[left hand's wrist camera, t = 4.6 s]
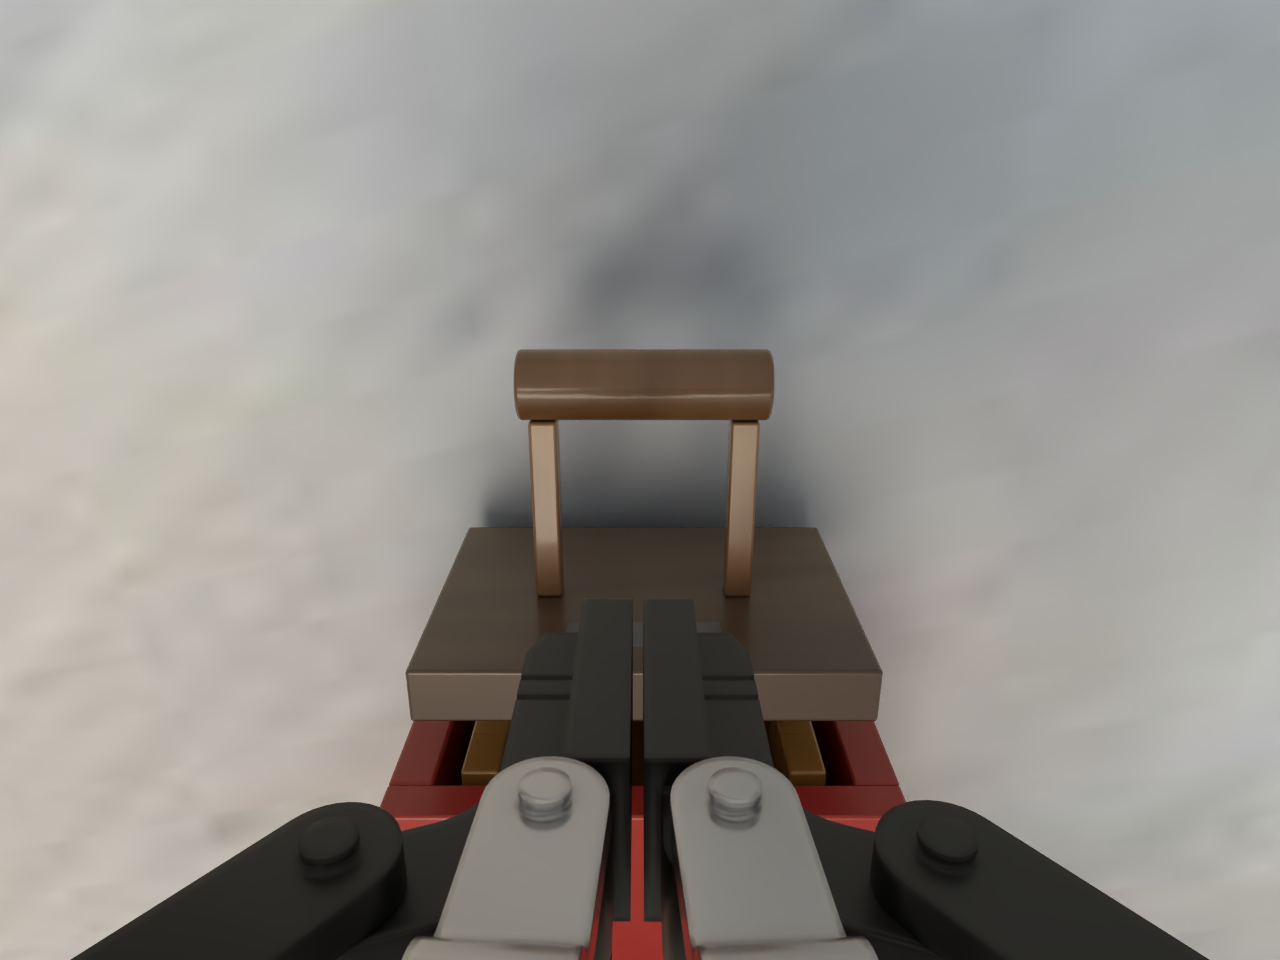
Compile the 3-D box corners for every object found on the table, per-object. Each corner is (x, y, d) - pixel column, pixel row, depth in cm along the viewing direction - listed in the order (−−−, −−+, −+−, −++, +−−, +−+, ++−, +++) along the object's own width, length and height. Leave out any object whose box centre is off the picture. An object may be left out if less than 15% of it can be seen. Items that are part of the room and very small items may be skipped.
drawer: (452, 317, 22) (372, 392, 15) (833, 317, 22) (916, 393, 15) (506, 1029, 31) (471, 1269, 24) (777, 1030, 31) (814, 1269, 24)
